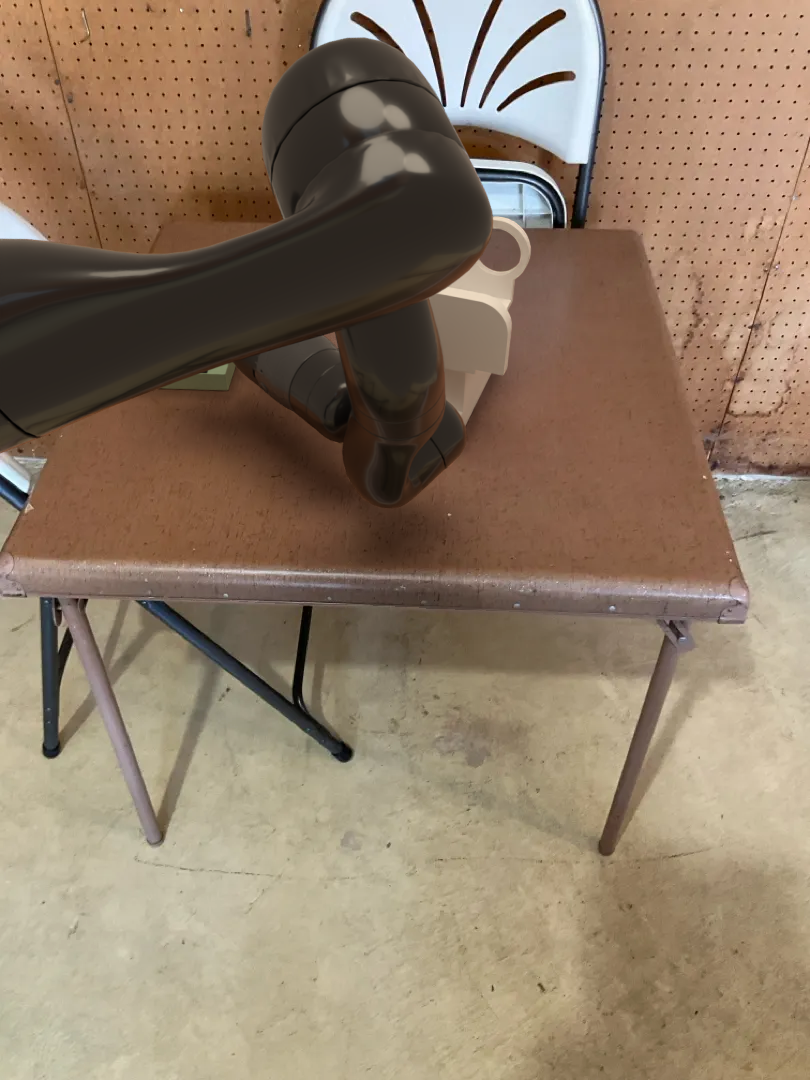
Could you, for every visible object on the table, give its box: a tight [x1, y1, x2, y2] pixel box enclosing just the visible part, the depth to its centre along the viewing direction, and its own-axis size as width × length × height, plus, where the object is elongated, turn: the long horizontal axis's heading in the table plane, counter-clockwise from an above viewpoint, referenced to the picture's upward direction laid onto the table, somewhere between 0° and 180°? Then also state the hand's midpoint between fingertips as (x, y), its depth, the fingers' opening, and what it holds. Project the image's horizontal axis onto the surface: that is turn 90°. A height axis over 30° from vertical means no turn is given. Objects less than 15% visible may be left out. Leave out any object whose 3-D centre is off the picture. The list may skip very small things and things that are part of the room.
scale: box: [161, 362, 237, 391], centre depth 97 cm, size 12×10×3 cm
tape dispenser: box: [430, 216, 532, 427], centre depth 86 cm, size 14×13×18 cm
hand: (202, 293), depth 87 cm, fingers open, 8 cm apart
